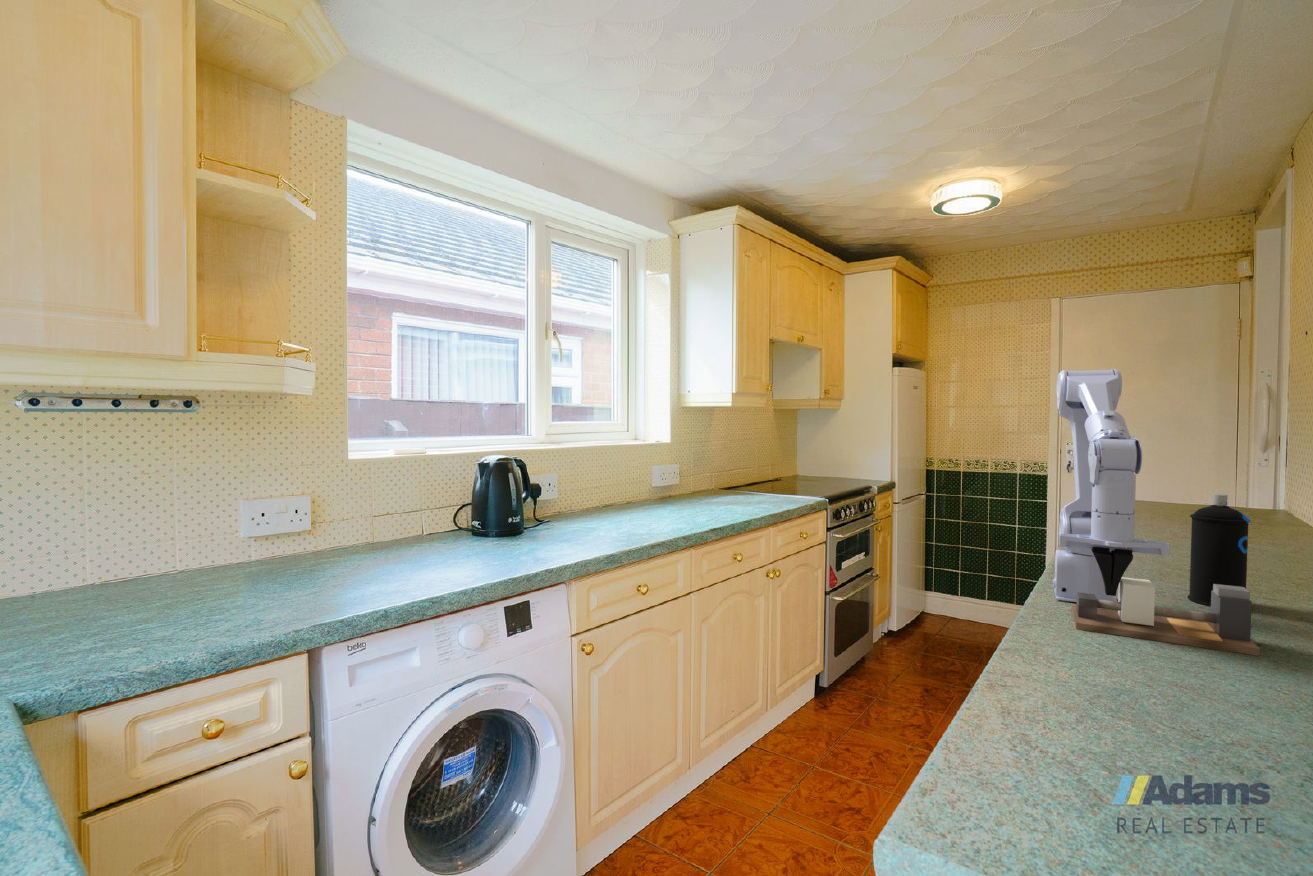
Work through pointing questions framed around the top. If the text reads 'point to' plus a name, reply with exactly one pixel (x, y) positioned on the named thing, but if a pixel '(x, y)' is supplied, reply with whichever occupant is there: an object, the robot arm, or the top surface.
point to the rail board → (1156, 625)
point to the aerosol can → (1217, 549)
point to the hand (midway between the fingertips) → (1110, 594)
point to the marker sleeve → (1136, 601)
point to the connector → (1231, 612)
